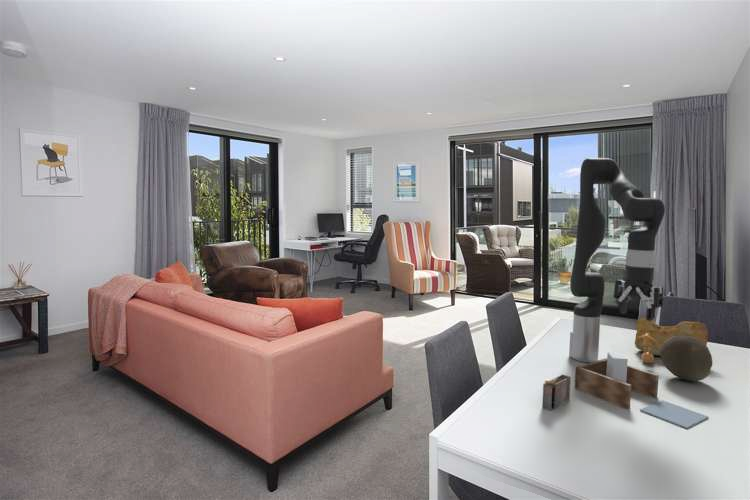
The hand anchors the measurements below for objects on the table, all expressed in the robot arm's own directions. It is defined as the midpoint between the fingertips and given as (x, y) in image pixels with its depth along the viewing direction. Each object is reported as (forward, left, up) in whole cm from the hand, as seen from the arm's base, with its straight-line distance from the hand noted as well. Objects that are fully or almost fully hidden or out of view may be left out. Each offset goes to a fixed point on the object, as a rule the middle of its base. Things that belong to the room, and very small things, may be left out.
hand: (636, 316), depth 137 cm
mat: (+14, -3, -25) cm, 28 cm away
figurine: (-12, +32, -25) cm, 42 cm away
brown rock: (+3, +27, -25) cm, 36 cm away
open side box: (-3, -3, -25) cm, 25 cm away
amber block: (-13, +51, -25) cm, 58 cm away
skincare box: (-3, -3, -25) cm, 25 cm away
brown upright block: (-7, -26, -25) cm, 37 cm away
